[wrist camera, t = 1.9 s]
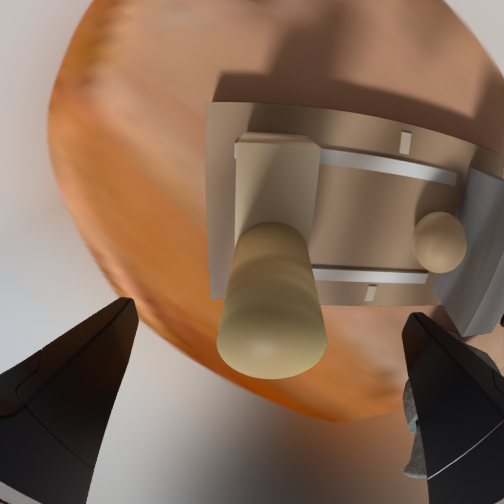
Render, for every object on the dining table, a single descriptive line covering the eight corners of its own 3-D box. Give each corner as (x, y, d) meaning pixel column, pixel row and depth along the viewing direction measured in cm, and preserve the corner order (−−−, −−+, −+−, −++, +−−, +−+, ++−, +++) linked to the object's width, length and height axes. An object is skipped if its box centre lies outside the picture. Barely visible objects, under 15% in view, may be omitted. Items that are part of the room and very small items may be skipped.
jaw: (306, 135, 13) (364, 188, 5) (289, 287, 18) (299, 421, 10) (244, 131, 13) (210, 177, 5) (240, 285, 18) (222, 418, 10)
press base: (492, 151, 14) (556, 180, 8) (449, 293, 19) (485, 348, 14) (211, 102, 14) (176, 102, 8) (213, 285, 20) (195, 357, 14)
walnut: (454, 206, 14) (485, 231, 11) (439, 255, 16) (464, 285, 13) (410, 199, 15) (439, 224, 12) (397, 252, 16) (419, 284, 13)
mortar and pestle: (458, 299, 20) (522, 408, 9) (479, 341, 23) (522, 426, 12) (360, 370, 24) (384, 485, 14) (400, 396, 27) (422, 485, 17)
